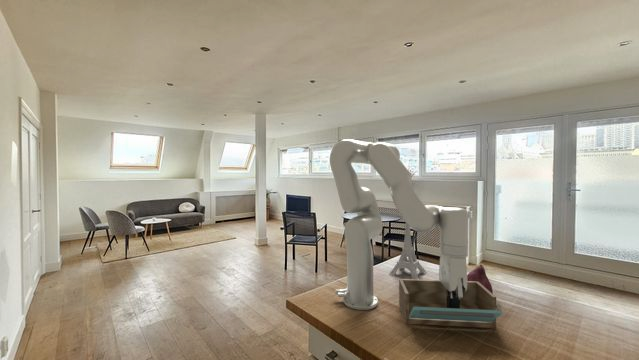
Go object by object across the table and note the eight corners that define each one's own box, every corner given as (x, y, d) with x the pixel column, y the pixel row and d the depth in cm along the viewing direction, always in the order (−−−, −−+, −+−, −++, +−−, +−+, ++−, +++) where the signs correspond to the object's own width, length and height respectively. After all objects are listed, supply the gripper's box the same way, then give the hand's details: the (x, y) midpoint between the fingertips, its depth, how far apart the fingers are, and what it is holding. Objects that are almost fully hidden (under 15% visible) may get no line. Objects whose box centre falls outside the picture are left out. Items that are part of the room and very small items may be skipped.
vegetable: (496, 313, 98) (507, 277, 93) (465, 306, 100) (474, 271, 95) (486, 293, 107) (495, 260, 103) (458, 288, 109) (466, 255, 105)
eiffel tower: (426, 272, 129) (426, 209, 129) (417, 281, 119) (417, 213, 118) (399, 267, 137) (399, 207, 137) (388, 274, 127) (388, 210, 126)
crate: (405, 323, 86) (405, 293, 85) (399, 305, 97) (399, 278, 97) (496, 328, 82) (496, 297, 82) (478, 308, 94) (478, 281, 94)
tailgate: (410, 319, 85) (414, 311, 79) (409, 315, 86) (413, 306, 80) (492, 324, 82) (502, 315, 76) (490, 319, 83) (500, 310, 77)
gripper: (432, 242, 89) (432, 298, 89) (449, 256, 74) (449, 323, 74) (456, 243, 88) (456, 299, 88) (479, 257, 73) (478, 324, 73)
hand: (453, 310), depth 81 cm, fingers closed
